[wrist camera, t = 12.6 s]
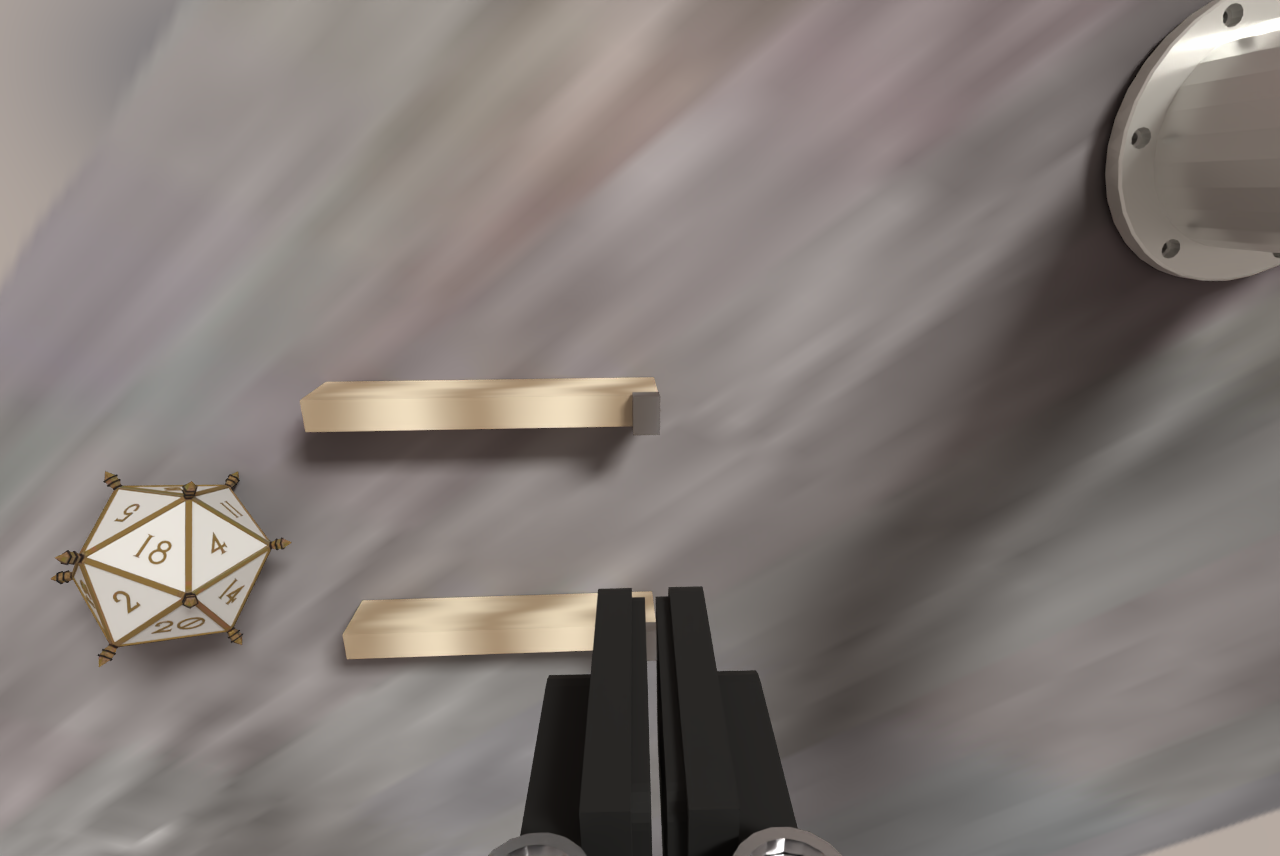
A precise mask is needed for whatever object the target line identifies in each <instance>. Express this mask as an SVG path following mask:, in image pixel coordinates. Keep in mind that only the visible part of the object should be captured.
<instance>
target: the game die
mask: <svg viewBox="0 0 1280 856" xmlns="http://www.w3.org/2000/svg"><path fill="white" fill-rule="evenodd" d="M117 476H118V475H114V474H111V473H108V472H106V471H105V481H103V482H106V483H107V484H108V485H107V486H108V487H109V486H110V487H111V488H113V490H114V491H113V493H112V495H111V497H110V498H109V500H108V502H107V504H106V506H105V507H104V509H103V511H102V513H101V515H100V517H99V518H98V520H97V522H96V524H95V526H94V528H93V529H92V531H91V533H90V535H89V537H88V539H87V540H86V542H85V544H84V546H83V548H82V549H81V551H80V553H79V554H78V553H76V552H75V551H73V552H69V550H67V551H66V552H64V553H63V554H62V555H59V556H57V557H55V558H56V559H57V560H58V561H60V562H61V564H65V565H68V564H73V565H74V564H75V566H74V569H73V572H69V571H65V572H63V571H61V572H58V573H57V574H56V575H55V576H54V577H52V578H51V580H54V581H57V582H58V583H60V584H63V582H66V583H68V582H69V581H70V580H74V582H75V584H76V586H77V587H78V589H79V591H80V593H81V594H82V596H83V598H84V600H85V601H86V603H87V605H88V607H89V609H90V610H91V612H92V614H93V616H94V617H95V619H96V621H97V623H98V624H99V626H100V628H101V630H102V631H103V633H104V635H105V637H106V638H107V640H108V642H109V646H108V647H106V648H105V649H102V653H101V654H100V655H99V654H98V655H97V656H99V667H100V666H102V665H103V664H105V663H106V662H108V661H111V660H112V657H113V655H115V654H116V653H115V652H116V649H117V648H118V647H123V646H130V645H137V644H144V643H151V642H158V641H165V640H172V639H179V638H186V637H193V636H200V635H207V634H214V633H221V632H227V633H228V636H229V637H228V638H230V639H231V643H232V642H234V643H237V644H240V645H242V635H243V634H241V633H240V632H239V631H240V630H236V629H235V628H234V625H235V623H236V621H237V619H238V617H239V615H240V613H241V611H242V609H243V607H244V605H245V603H246V601H247V599H248V596H249V594H250V592H251V590H252V588H253V586H254V584H255V582H256V580H257V578H258V576H259V574H260V572H261V570H262V568H263V565H264V563H265V561H266V559H267V557H268V555H269V553H270V551H271V549H276V550H278V549H284V548H285V547H286V546H287V545H289V544H290V543H292V542H290V541H287V540H285V539H283V538H281V539H276V540H275V541H272V542H270V541H269V539H268V538H267V537H266V535H265V534H264V532H263V531H262V530H261V528H260V527H259V526H258V524H257V523H256V522H255V520H254V519H253V518H252V516H251V515H250V514H249V512H248V511H247V510H246V508H245V507H244V505H243V504H242V503H241V501H240V500H239V499H238V497H237V496H236V495H235V493H234V492H233V491H232V489H231V488H232V487H233V486H234V485H237V484H236V483H237V482H238V481H240V480H239V475H238V472H236V473H234V474H231V475H229V476H228V477H229V478H227V479H226V483H225V485H195V484H194V483H193V482H192V481H191V482H190V483H188V484H186V485H151V486H122V485H121V483H120V479H118V478H117Z"/></svg>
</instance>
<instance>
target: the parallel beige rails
mask: <svg viewBox="0 0 1280 856" xmlns="http://www.w3.org/2000/svg"><path fill="white" fill-rule="evenodd" d="M300 405H301V410H302V416H303V421H304V427H305V432H340V431H396V430H452V429H508V428H563V427H619V426H633V435H660V395H659V392H658V391H657V387H656V384H655V380H654V377H644V378H572V379H501V380H430V381H358V382H325V383H324V384H322V385H321V386H320V387H318V388H317V389H315V390H314V391H312V392H311V393H310V394H308V395H307V396H305V397H304V398H303V399H301V400H300ZM597 596H598V593H586V594H554V595H522V596H490V597H458V598H426V599H394V600H362V602H361V604H360V606H359V607H358V609H357V611H356V613H355V614H354V616H353V618H352V619H351V621H350V623H349V625H348V626H347V628H346V630H345V632H344V633H343V640H344V646H345V651H346V657H347V659H366V658H394V657H422V656H450V655H477V654H505V653H533V652H561V651H589V650H593V643H594V631H595V619H596V607H597ZM632 597H645V613H646V648H647V661H657V655H656V620H655V612H654V604H653V596H652V591H650V592H632Z"/></svg>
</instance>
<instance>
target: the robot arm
mask: <svg viewBox="0 0 1280 856" xmlns="http://www.w3.org/2000/svg"><path fill="white" fill-rule="evenodd" d="M1105 179H1106V191H1107V201H1108V204H1109V208H1110V211H1111V214H1112V218H1113V221H1114V224H1115V226H1116V227H1117V229H1118V231H1119V233H1120V235H1121V236H1122V238H1123V240H1124V242H1125V243H1126V244H1127V245H1128V246H1129V248H1130V249H1131V250H1132V251H1133V252H1134V253H1135V254H1136V255H1137V256H1138V257H1139V258H1140V259H1141V260H1143V261H1144V262H1146V263H1148V264H1149V265H1151V266H1152V267H1154V268H1155V269H1157V270H1159V271H1162V272H1165V273H1168V274H1171V275H1174V276H1177V277H1182V278H1189V279H1195V280H1201V281H1228V280H1233V279H1238V278H1243V277H1248V276H1252V275H1255V274H1258V273H1260V272H1263V271H1265V270H1268V269H1271V268H1273V267H1276V266H1278V265H1280V0H1213V1H1212V2H1210V3H1208V4H1207V5H1205V6H1204V7H1202V8H1201V9H1199V10H1197V11H1196V12H1194V13H1193V14H1191V15H1190V16H1189V17H1188V18H1186V19H1185V20H1184V21H1183V22H1182V23H1181V24H1180V25H1179V26H1177V27H1176V28H1175V29H1174V30H1173V31H1172V32H1171V33H1170V34H1168V35H1167V36H1166V37H1165V38H1164V40H1163V41H1162V42H1161V43H1160V44H1159V46H1158V47H1157V48H1156V49H1155V50H1154V52H1153V53H1152V54H1151V55H1150V56H1149V57H1148V59H1147V60H1146V61H1145V62H1144V64H1143V66H1142V67H1141V69H1140V70H1139V72H1138V74H1137V75H1136V77H1135V79H1134V80H1133V82H1132V83H1131V85H1130V87H1129V88H1128V90H1127V92H1126V95H1125V97H1124V99H1123V102H1122V104H1121V106H1120V108H1119V111H1118V113H1117V115H1116V118H1115V121H1114V125H1113V129H1112V133H1111V136H1110V140H1109V144H1108V149H1107V160H1106V170H1105ZM656 655H657V726H658V757H659V780H660V802H661V825H662V848H663V856H843V855H841V854H840V853H839V852H838V851H837V850H836V849H835V848H834V847H833V846H832V845H831V844H830V843H829V842H827V841H825V840H823V839H821V838H820V837H818V836H816V835H814V834H812V833H811V832H808V831H804V830H800V829H798V828H797V824H796V820H795V817H794V813H793V809H792V805H791V801H790V797H789V793H788V789H787V785H786V781H785V777H784V773H783V769H782V765H781V761H780V757H779V753H778V749H777V745H776V741H775V737H774V733H773V729H772V725H771V722H770V718H769V714H768V710H767V706H766V702H765V698H764V694H763V690H762V686H761V682H760V679H759V676H758V673H757V672H756V671H717V669H716V663H715V657H714V651H713V645H712V639H711V633H710V627H709V622H708V616H707V610H706V604H705V598H704V592H703V588H702V587H669V590H668V597H656ZM488 856H652V831H651V789H650V754H649V718H648V683H647V648H646V613H645V597H632V588H616V589H598V596H597V607H596V619H595V631H594V643H593V654H592V666H591V674H584V675H549V677H548V679H547V684H546V688H545V694H544V700H543V706H542V712H541V718H540V723H539V729H538V735H537V741H536V747H535V753H534V758H533V764H532V770H531V776H530V782H529V787H528V793H527V799H526V805H525V811H524V817H523V822H522V828H521V834H520V836H519V837H516V838H512V839H510V840H508V841H507V842H505V843H503V844H502V845H500V846H499V847H497V848H496V849H494V850H492V851H491V853H490V854H489V855H488Z"/></svg>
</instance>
